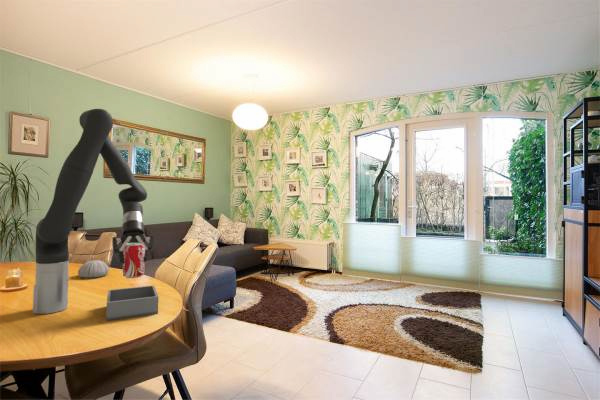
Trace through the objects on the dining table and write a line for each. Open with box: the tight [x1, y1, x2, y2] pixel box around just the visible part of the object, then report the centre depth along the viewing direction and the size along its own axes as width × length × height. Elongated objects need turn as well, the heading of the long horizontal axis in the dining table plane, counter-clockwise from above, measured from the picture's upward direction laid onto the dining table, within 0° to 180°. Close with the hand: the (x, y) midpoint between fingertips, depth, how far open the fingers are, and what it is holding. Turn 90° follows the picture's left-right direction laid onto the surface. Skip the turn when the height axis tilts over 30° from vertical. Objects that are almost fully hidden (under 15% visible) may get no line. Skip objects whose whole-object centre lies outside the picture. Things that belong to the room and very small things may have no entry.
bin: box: [105, 285, 159, 322], centre depth 114 cm, size 16×16×6 cm
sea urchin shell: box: [77, 259, 110, 279], centre depth 158 cm, size 13×14×8 cm
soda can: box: [122, 242, 146, 279], centre depth 114 cm, size 7×7×12 cm
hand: (133, 261), depth 112 cm, fingers closed on soda can, 6 cm apart
